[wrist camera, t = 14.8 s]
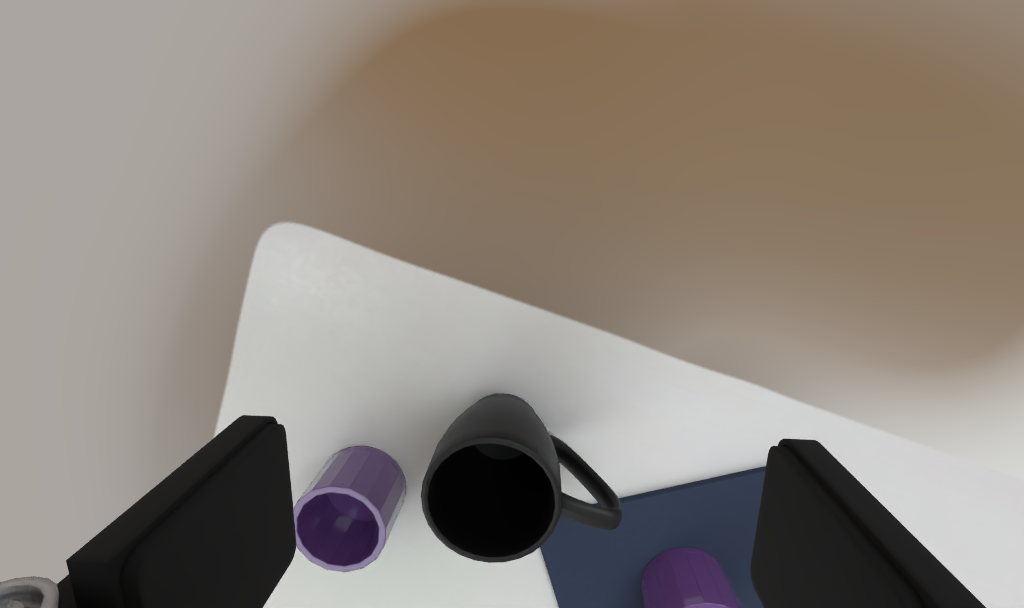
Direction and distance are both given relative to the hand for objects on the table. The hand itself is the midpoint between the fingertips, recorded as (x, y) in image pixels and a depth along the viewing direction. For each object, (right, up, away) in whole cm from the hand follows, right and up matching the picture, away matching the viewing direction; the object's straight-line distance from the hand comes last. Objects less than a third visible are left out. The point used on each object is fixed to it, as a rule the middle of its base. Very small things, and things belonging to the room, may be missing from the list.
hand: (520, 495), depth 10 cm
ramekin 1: (-12, -10, +31) cm, 35 cm away
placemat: (+13, -18, +32) cm, 39 cm away
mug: (+1, -6, +30) cm, 30 cm away
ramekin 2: (+13, -18, +31) cm, 38 cm away
